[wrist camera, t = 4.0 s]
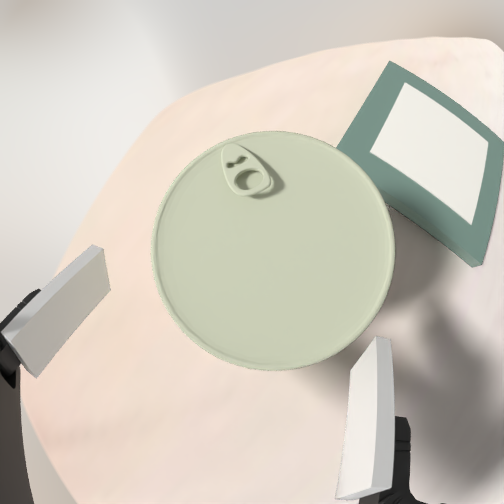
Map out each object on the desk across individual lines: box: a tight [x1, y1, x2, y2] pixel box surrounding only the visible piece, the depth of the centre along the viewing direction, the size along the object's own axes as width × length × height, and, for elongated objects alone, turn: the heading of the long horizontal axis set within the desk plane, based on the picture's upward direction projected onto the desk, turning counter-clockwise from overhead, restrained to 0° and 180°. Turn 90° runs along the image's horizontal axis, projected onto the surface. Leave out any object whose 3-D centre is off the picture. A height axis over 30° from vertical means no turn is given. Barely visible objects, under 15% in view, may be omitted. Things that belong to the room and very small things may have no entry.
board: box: [336, 61, 504, 267], centre depth 22 cm, size 16×16×2 cm
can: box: [151, 131, 395, 371], centre depth 15 cm, size 9×9×12 cm
